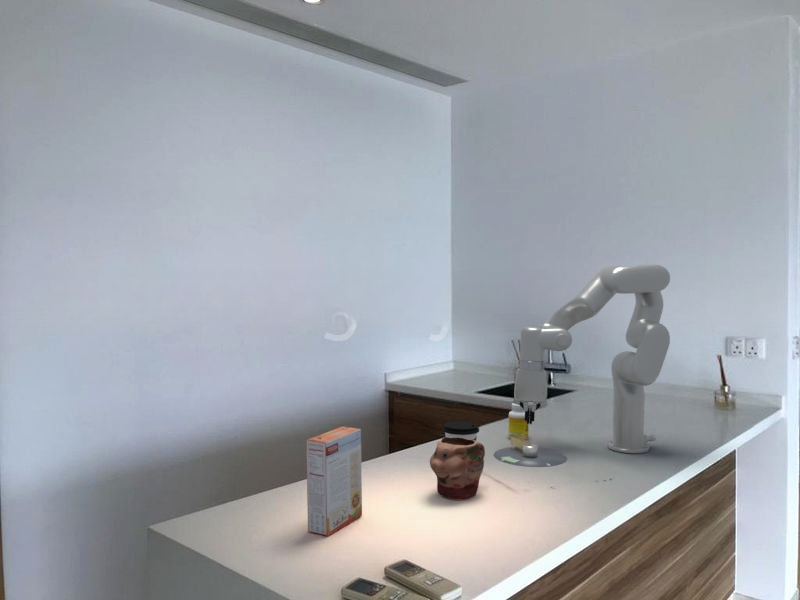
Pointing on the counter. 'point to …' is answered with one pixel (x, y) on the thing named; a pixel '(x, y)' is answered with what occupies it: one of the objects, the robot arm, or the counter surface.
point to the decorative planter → (458, 467)
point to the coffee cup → (461, 430)
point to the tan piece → (524, 446)
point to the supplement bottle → (517, 422)
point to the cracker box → (334, 480)
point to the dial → (542, 460)
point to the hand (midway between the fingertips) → (529, 423)
